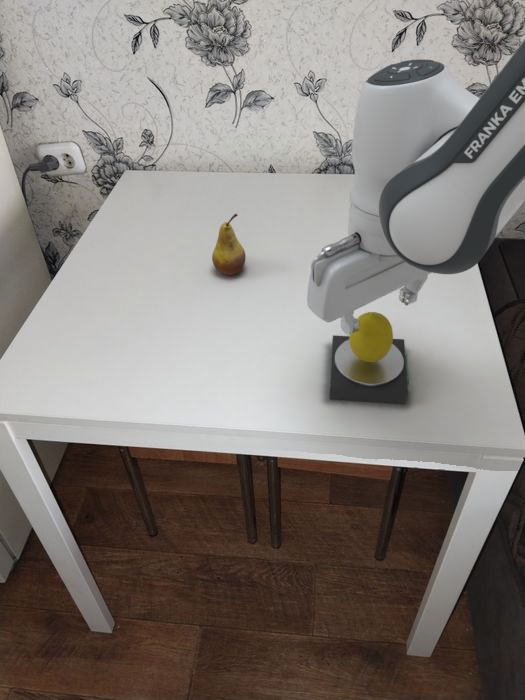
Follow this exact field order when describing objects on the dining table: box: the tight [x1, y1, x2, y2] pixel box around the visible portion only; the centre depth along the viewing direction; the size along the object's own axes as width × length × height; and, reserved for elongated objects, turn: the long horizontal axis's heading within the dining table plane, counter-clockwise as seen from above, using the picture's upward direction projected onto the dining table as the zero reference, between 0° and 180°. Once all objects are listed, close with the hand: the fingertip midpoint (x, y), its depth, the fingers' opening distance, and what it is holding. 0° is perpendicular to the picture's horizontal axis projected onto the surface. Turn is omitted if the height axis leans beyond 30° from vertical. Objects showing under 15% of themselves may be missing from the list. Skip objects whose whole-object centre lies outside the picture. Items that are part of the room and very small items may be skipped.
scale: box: [329, 334, 410, 406], centre depth 81 cm, size 10×10×3 cm
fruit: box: [211, 213, 247, 276], centre depth 96 cm, size 6×6×12 cm
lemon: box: [349, 311, 394, 362], centre depth 77 cm, size 6×6×8 cm
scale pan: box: [335, 340, 404, 387], centre depth 80 cm, size 9×9×1 cm
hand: (379, 315), depth 74 cm, fingers open, 8 cm apart
